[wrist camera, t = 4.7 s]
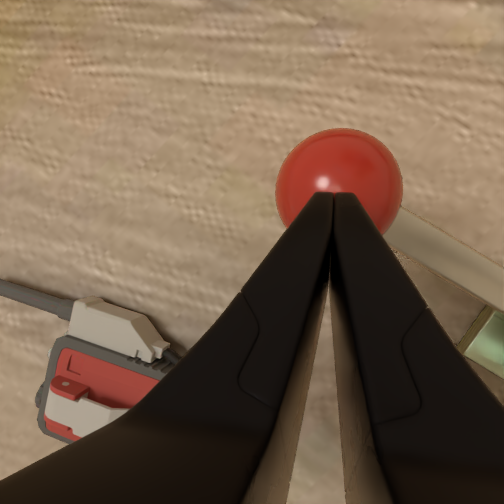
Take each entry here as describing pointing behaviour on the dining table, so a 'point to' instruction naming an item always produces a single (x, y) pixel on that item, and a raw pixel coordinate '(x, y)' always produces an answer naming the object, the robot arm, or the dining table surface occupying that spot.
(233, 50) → the dining table surface
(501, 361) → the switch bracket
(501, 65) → the dining table surface
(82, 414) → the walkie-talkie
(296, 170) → the switch lever
